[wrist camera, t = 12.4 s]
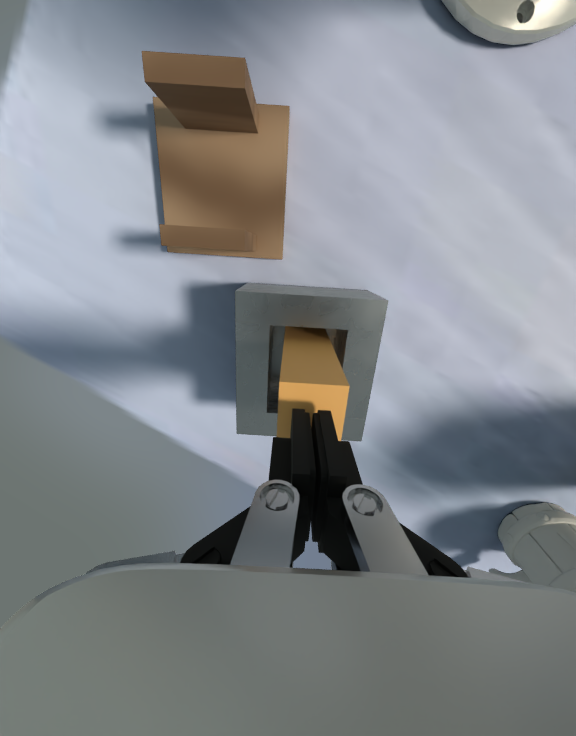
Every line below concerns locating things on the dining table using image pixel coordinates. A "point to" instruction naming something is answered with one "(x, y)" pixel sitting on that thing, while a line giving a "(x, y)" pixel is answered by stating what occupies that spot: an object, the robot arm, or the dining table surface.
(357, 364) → the port block
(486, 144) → the dining table surface
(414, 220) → the dining table surface
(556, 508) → the mug
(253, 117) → the tan u-shaped piece
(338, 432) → the plug
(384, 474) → the dining table surface
